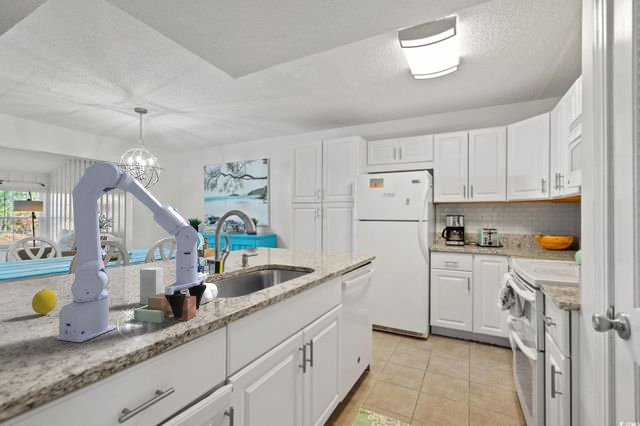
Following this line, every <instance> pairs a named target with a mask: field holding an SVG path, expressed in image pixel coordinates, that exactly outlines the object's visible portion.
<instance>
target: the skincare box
mask: <svg viewBox="0 0 640 426" xmlns="http://www.w3.org/2000/svg"><path fill="white" fill-rule="evenodd" d="M160 293H164V267H144V268H141V269H139V305H148V297H151V296H154V295H157V294H160Z"/></svg>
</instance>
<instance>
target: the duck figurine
mask: <svg viewBox="0 0 640 426" xmlns="http://www.w3.org/2000/svg"><path fill="white" fill-rule="evenodd" d="M197 277H205V281H206V280H207V279H208V277H207V273H203V272H202V271H200V272H197ZM203 285H207V288H206V289H205V291H204V293H203V296H202V298H201V302H200V305H204V304H207V303H210V302H212V301H213V300H215V299H216V298H217V296H218V287H217V286H216V284H215V283H210V282H209V283H208V282H205V283H204V284H203ZM185 294H186V296H190V294H189V290H188V289H187V291H186V293H185Z"/></svg>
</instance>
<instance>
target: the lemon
mask: <svg viewBox="0 0 640 426" xmlns="http://www.w3.org/2000/svg"><path fill="white" fill-rule="evenodd" d="M57 303H58V299H57V295H56V293H55V292H54V291H53V290H51V289H47V288H43V289H41V290H40V291H38V292H36V293H35V294H34V296H33V297H32V300H31V307H32V311H34V312H35V313H36V314H40V315H42V316H47V314H48V313H50V312H51V311H53V310H54V309H55V308H56V306H57Z"/></svg>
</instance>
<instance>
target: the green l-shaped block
mask: <svg viewBox="0 0 640 426" xmlns="http://www.w3.org/2000/svg"><path fill="white" fill-rule="evenodd" d="M133 320H134V321H138V322H148V323H156V324H159V323H160V324H162V323H163V322H165V318H164V311H160V310H149V309H148V304H145V305H144V306H141V307H138V308H135V309H134V310H133Z"/></svg>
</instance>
